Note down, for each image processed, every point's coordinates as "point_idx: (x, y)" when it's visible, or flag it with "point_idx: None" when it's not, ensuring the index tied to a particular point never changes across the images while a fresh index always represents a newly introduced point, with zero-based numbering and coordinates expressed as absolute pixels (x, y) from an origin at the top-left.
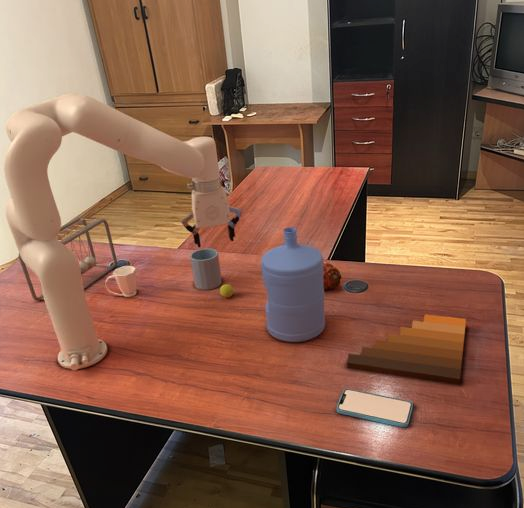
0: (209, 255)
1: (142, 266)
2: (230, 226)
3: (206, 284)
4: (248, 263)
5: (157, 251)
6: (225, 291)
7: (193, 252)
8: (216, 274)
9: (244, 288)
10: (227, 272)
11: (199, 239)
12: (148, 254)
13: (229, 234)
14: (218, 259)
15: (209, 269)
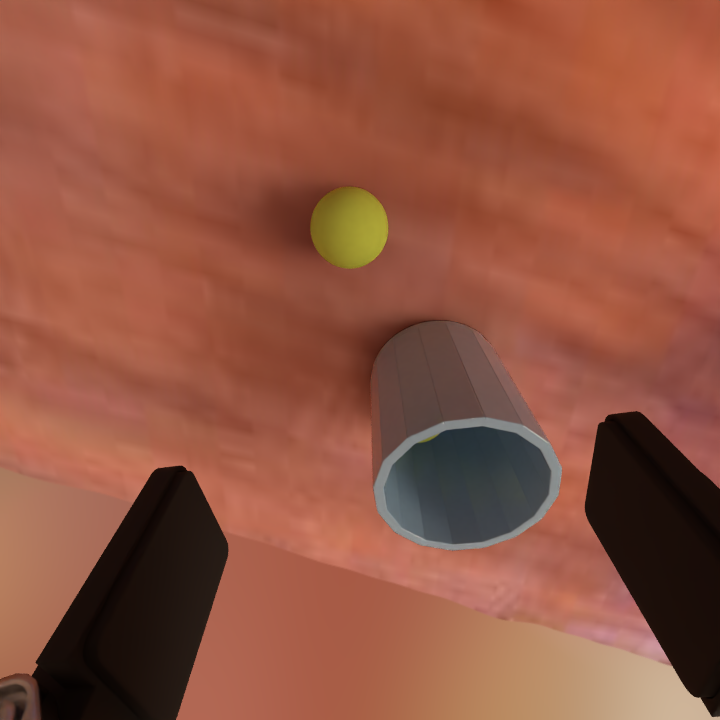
0: (422, 505)
1: None
2: (67, 717)
3: (451, 331)
4: (254, 488)
5: (578, 619)
6: (355, 193)
7: (524, 525)
8: (395, 370)
9: (261, 287)
10: (342, 443)
11: (683, 506)
12: (613, 610)
13: (190, 571)
14: (375, 449)
15: (438, 378)
